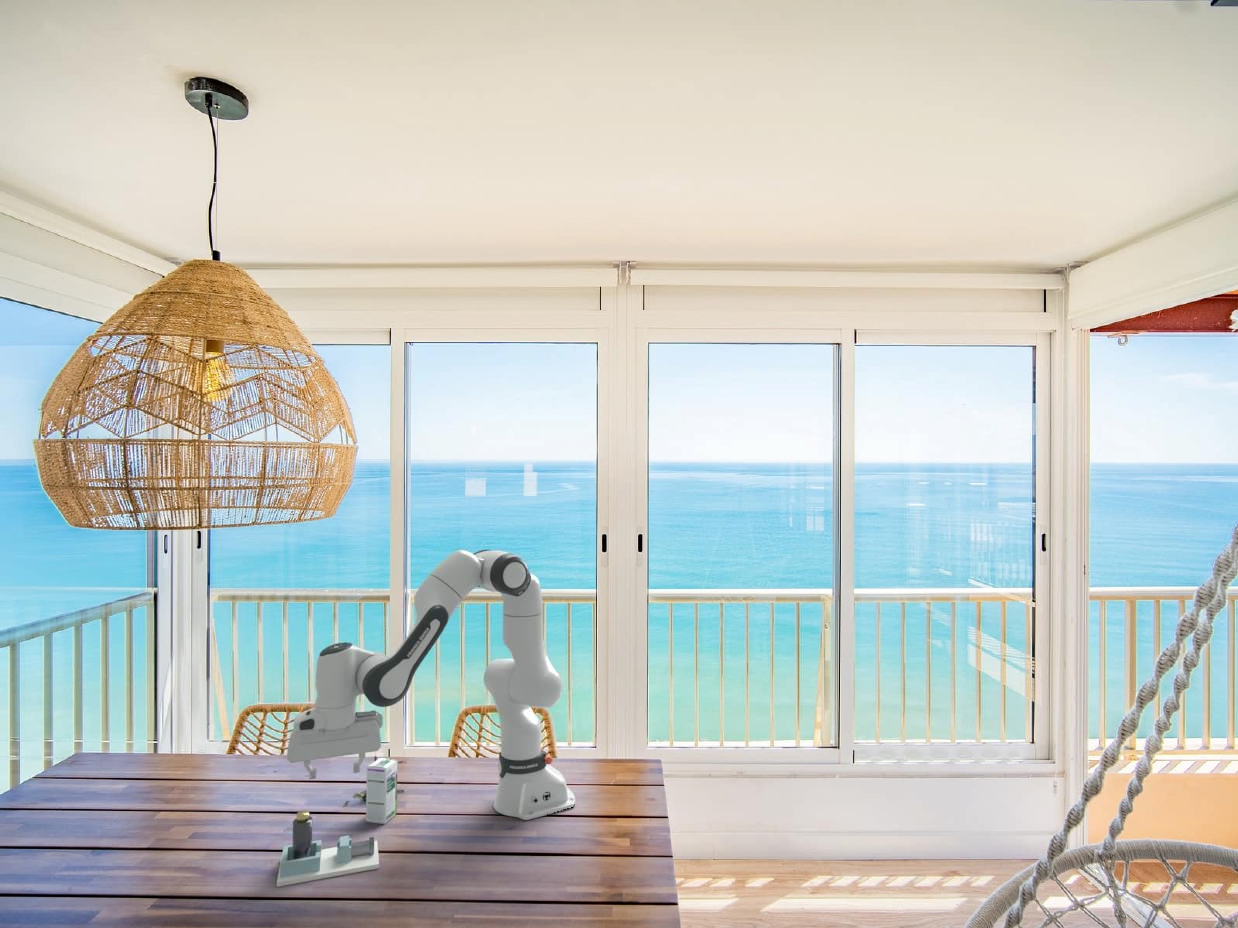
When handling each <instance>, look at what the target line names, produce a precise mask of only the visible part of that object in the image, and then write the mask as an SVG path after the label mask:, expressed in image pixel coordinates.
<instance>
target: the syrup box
mask: <svg viewBox="0 0 1238 928" xmlns="http://www.w3.org/2000/svg"><path fill="white" fill-rule="evenodd" d="M397 790H398V759H394V758H387V757H386V758H385V757H381V758H380V757H378V758H377V760H376V761H375V762H374V761H373V762H372V763H371V764H370V763H369V765H367V766H366V790H365V791H366V802H365V804H366V805H365V806H366V807H365V808H366V809H365V812H366V813H365V821H366V822H367V823H373V824H382V825H386V824H387V823H388V822H389V821H390V820H391V819H393V818H394V817H395V815H397V813H398V812H397V811H398V810H397V808H398V807H397V806H398V805H397V804H398V803H397V802H398V793H397Z"/></svg>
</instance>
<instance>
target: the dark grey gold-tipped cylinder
mask: <svg viewBox="0 0 1238 928" xmlns="http://www.w3.org/2000/svg"><path fill="white" fill-rule="evenodd" d="M312 841H313V817H312V816H310V811H309V810H299V812H297V813H296V818H295V819H293V821H292V844H291V845H292V860H294V859H300V858H306V857H311V853H312Z"/></svg>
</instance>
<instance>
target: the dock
mask: <svg viewBox="0 0 1238 928" xmlns="http://www.w3.org/2000/svg"><path fill="white" fill-rule="evenodd" d="M336 842H337V844H336V845H340V848H337V846H334V847H330V848H329V847H328V848H323V849H322V839H317V840H312V853H311V857H306V858H300V859H294V860H292V844H287V845H283V847H282V848H283V849H282V854H281V857H280V863H279V868H278V874H277V879H276V888H278V887H283V886H289V885H295V884H300V883H307V882H311V881H316V880H323V879H327V878H332V877H338V876H345V875H350V874H355V873H360V872H365V871H373V870H377V869H380V860H379V859H380V857H379V846H378V839H377V840H374V854H373V855H369V854H363V855H357V856H352V857H351V846H349V843H352V837H350V835H344V836H340V837H339V839H338V840H337V841H336Z"/></svg>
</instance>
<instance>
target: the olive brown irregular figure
mask: <svg viewBox="0 0 1238 928" xmlns="http://www.w3.org/2000/svg"><path fill="white" fill-rule="evenodd" d="M373 759H374V761H373V762H375V761H376V760H378V756H377V755H376V754H375V756H374V757H373ZM403 793H406V789H397V794H403ZM352 798H353V799H360V800H361V802H364V803H366V790H363V791H360V792H358V793H357V792H356V793H355V794H353V796H352ZM349 803H351V801H350V800H346V801H345V803H344V804H343V805H342V807H344V808H345V807H347V806H348V804H349Z"/></svg>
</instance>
